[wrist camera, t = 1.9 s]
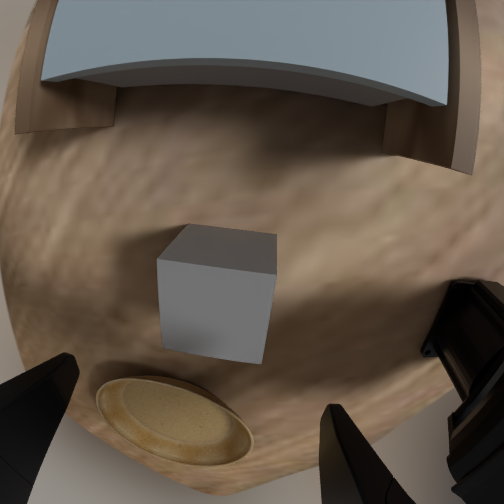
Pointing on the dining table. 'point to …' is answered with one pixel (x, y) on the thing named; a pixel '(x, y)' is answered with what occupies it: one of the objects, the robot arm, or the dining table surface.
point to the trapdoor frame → (398, 112)
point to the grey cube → (217, 292)
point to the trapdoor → (257, 46)
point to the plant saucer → (174, 421)
